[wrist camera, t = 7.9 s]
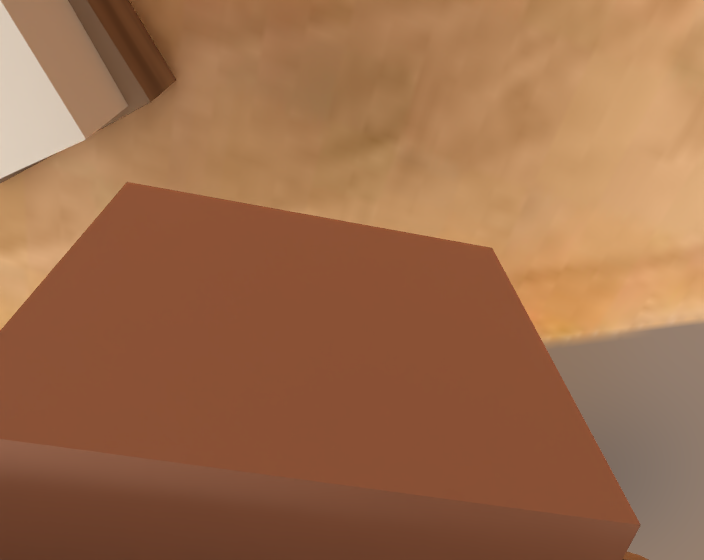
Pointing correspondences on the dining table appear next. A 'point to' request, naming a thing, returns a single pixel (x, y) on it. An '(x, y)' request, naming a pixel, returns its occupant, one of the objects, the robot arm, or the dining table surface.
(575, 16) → the dining table surface
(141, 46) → the tower bottom
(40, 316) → the terracotta cube
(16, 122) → the tower top
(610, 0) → the dining table surface
